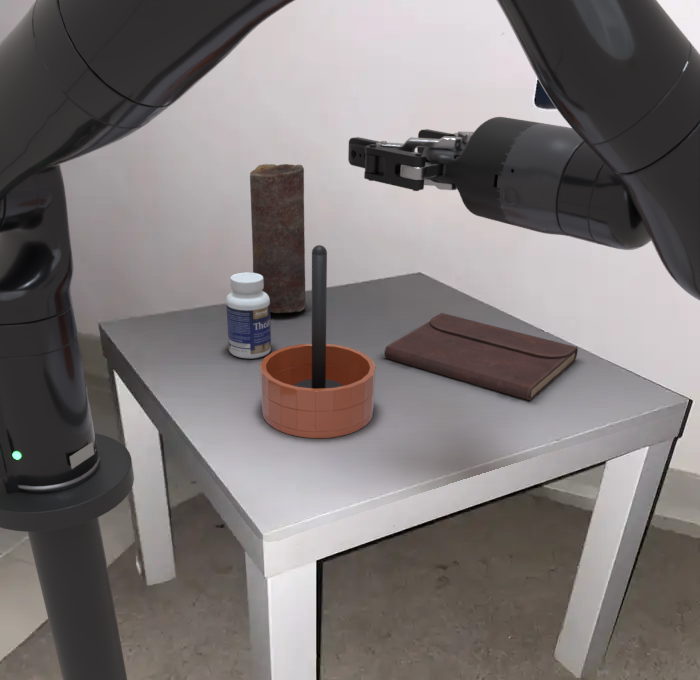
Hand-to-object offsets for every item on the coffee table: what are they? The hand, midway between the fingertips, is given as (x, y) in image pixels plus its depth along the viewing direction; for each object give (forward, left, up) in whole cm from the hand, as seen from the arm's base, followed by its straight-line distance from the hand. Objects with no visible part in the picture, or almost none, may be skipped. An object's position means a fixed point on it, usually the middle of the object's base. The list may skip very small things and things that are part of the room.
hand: (386, 145), depth 69 cm
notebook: (+20, +9, -28) cm, 36 cm away
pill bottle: (-6, +23, -28) cm, 37 cm away
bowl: (-5, +5, -28) cm, 29 cm away
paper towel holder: (-5, +5, -27) cm, 28 cm away
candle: (+3, +35, -28) cm, 45 cm away
